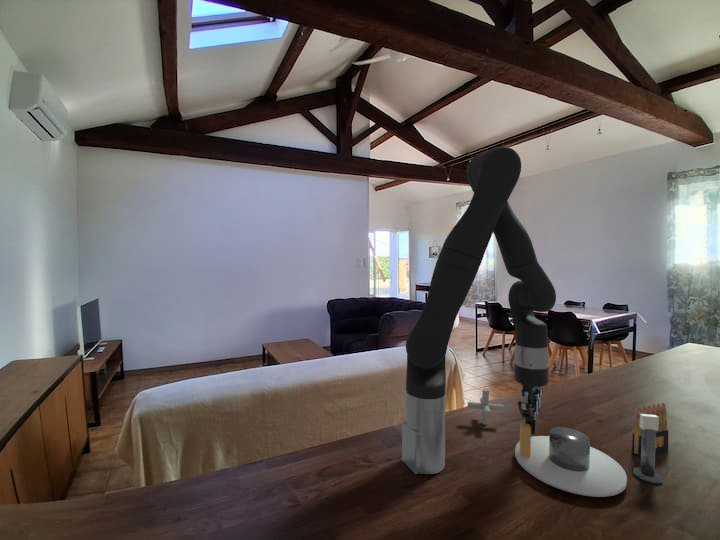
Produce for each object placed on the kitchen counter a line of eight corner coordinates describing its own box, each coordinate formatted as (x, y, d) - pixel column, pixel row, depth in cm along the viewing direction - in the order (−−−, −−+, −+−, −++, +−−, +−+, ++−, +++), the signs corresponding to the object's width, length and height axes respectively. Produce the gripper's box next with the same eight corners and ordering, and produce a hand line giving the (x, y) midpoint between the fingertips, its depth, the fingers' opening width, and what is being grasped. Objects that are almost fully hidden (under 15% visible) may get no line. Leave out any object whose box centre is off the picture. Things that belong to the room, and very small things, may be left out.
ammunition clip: (639, 456, 86) (640, 409, 86) (631, 452, 88) (632, 405, 87) (668, 449, 89) (670, 403, 89) (660, 445, 91) (661, 400, 91)
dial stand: (653, 471, 80) (655, 411, 79) (667, 485, 75) (669, 421, 75) (628, 469, 81) (630, 409, 80) (641, 482, 76) (643, 419, 76)
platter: (648, 505, 67) (650, 465, 67) (524, 485, 73) (525, 448, 73) (602, 446, 88) (602, 415, 88) (508, 434, 94) (509, 405, 94)
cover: (595, 474, 75) (595, 447, 75) (554, 468, 77) (554, 441, 77) (582, 454, 83) (583, 429, 83) (545, 449, 85) (545, 425, 85)
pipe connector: (506, 433, 97) (507, 398, 97) (469, 429, 99) (470, 395, 99) (499, 417, 107) (500, 385, 107) (466, 414, 109) (466, 382, 109)
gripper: (540, 373, 77) (540, 449, 78) (554, 359, 87) (554, 427, 88) (506, 366, 82) (506, 438, 83) (523, 354, 92) (522, 418, 93)
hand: (530, 432), depth 85 cm, fingers closed
